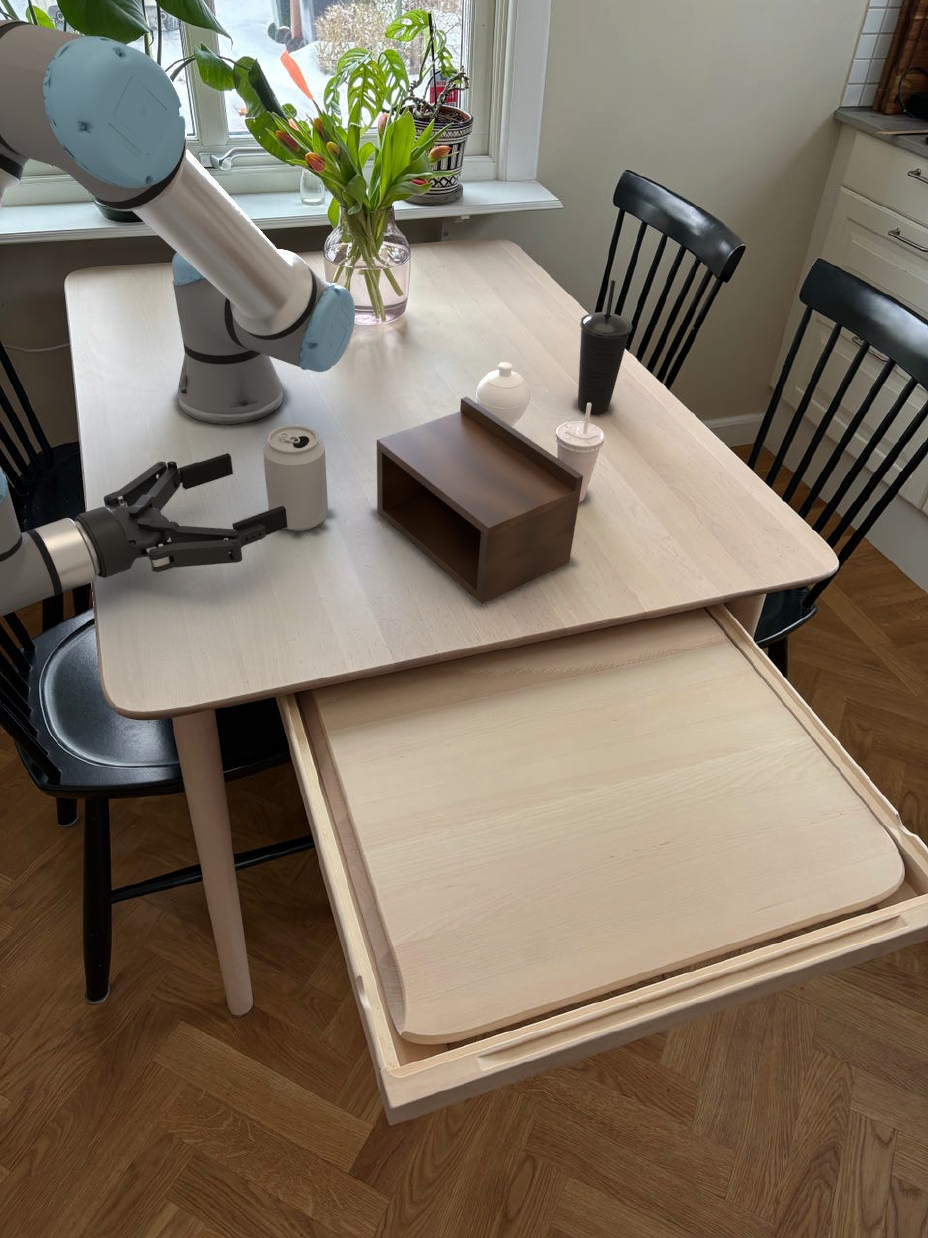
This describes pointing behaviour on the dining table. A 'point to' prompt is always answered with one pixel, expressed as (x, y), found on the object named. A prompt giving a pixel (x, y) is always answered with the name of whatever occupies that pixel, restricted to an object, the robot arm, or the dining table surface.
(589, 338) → the drinking cup
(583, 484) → the smoothie
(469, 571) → the shelf
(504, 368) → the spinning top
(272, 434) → the can
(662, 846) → the dining table surface
